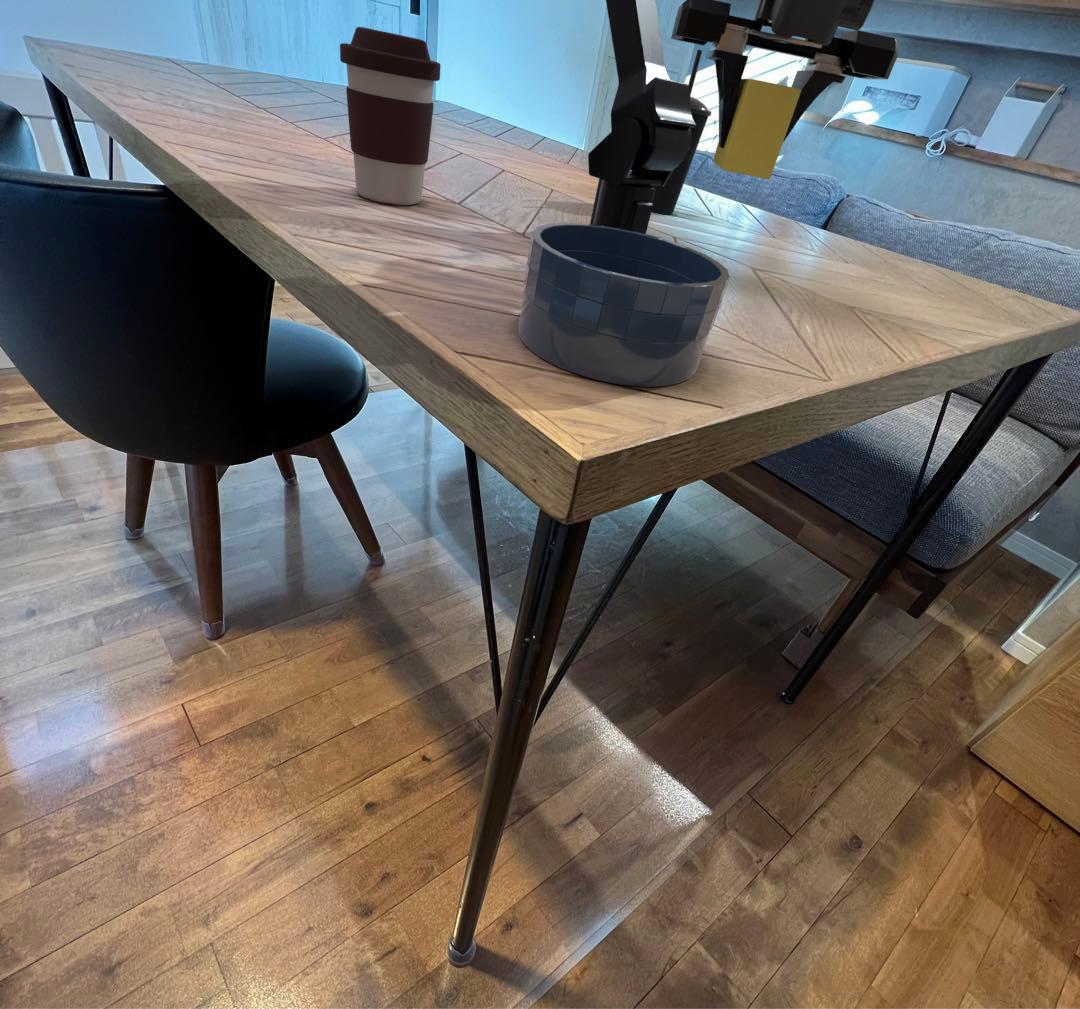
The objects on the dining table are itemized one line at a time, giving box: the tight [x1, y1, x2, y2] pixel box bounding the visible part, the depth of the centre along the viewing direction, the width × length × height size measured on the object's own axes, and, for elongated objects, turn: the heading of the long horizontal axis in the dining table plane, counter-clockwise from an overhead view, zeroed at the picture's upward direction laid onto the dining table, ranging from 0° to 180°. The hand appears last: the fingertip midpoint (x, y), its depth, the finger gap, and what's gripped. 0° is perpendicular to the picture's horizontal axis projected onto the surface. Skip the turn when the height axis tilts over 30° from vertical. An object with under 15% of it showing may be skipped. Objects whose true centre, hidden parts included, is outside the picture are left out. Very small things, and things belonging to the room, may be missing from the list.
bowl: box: [517, 222, 731, 388], centre depth 41 cm, size 13×13×6 cm
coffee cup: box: [339, 26, 442, 206], centre depth 63 cm, size 10×10×15 cm
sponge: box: [712, 78, 801, 180], centre depth 56 cm, size 7×4×7 cm, turn 174°
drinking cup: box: [651, 49, 712, 216], centre depth 85 cm, size 8×8×20 cm
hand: (745, 152), depth 57 cm, fingers closed on sponge, 4 cm apart
